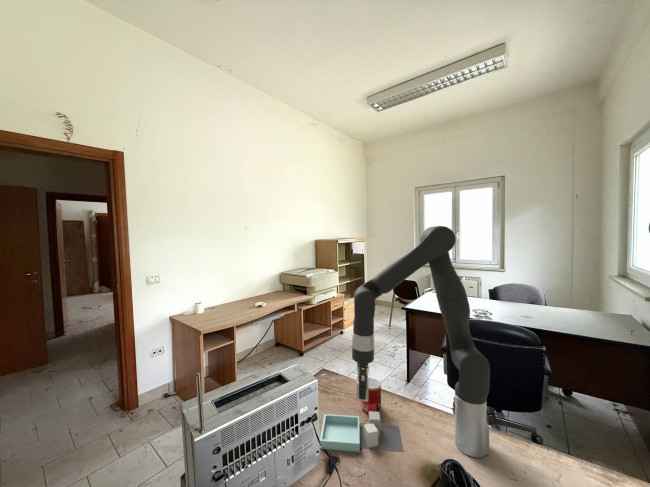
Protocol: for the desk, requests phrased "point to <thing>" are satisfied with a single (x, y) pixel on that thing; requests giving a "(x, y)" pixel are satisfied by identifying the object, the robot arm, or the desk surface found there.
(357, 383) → the stone
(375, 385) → the canned food
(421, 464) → the desk surface
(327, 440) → the bin
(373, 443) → the stone
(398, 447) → the mat
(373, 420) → the stone
